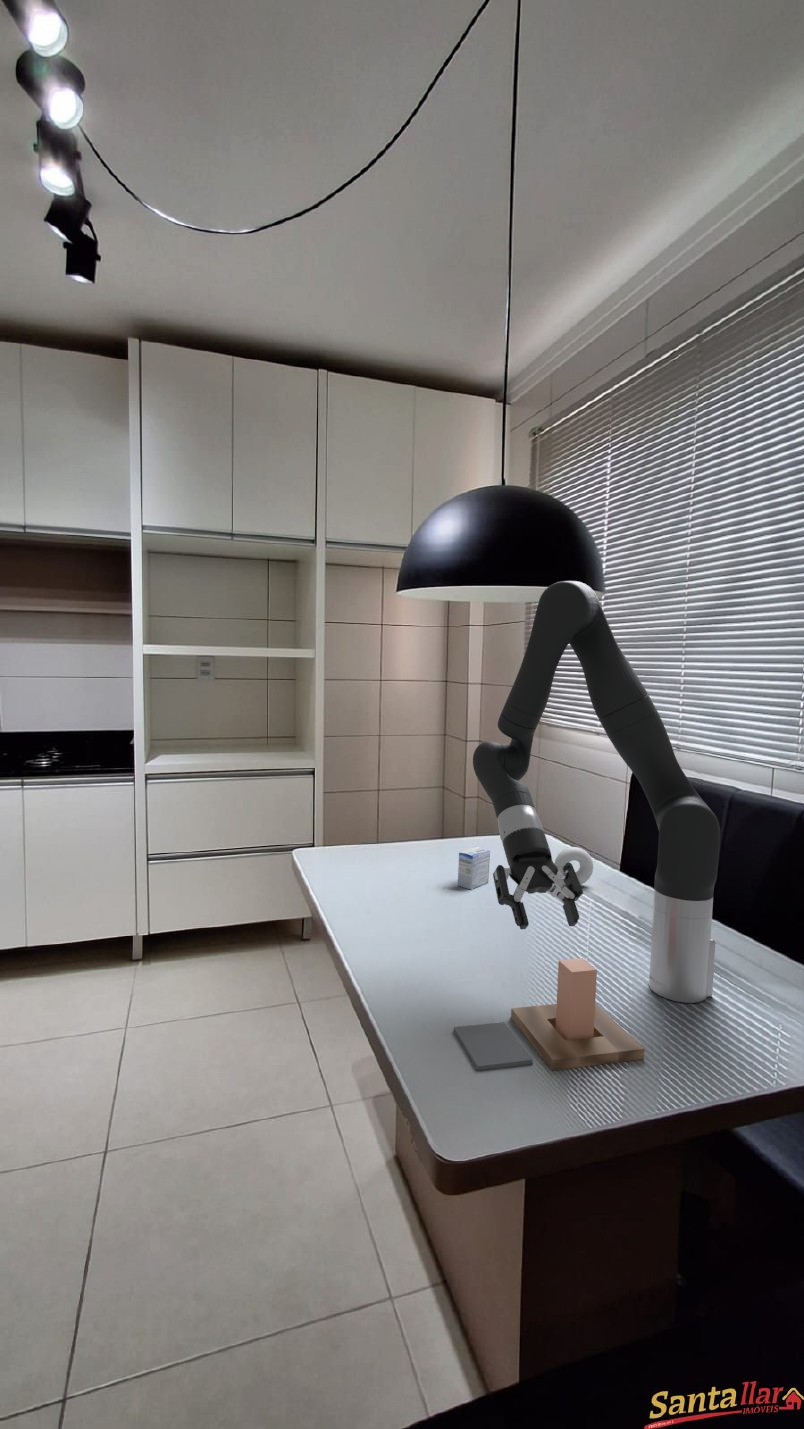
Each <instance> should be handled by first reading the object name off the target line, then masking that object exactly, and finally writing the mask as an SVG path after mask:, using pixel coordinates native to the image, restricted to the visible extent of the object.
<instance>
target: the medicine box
mask: <svg viewBox="0 0 804 1429" xmlns="http://www.w3.org/2000/svg"><path fill="white" fill-rule="evenodd" d="M490 860H491V850H489V849H487V848H483V847H478V846H475V847H471V848H469V849H465V850H462V851H459V853H458V868H457V869H458V870H457V872H458V873H457V874H458V875H457V886H458V887H460V886H461V888H465V889H468V890H474V889H476V888H479V887H481V886H483V885H485V884H488V883H489V881H490V880H489V879H490V862H491V861H490Z"/></svg>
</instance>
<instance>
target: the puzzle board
mask: <svg viewBox="0 0 804 1429" xmlns="http://www.w3.org/2000/svg"><path fill="white" fill-rule="evenodd" d="M556 1006H557V1003H551V1004H541V1005H534V1006H533V1005H532V1006H531V1005H530V1006H522V1007H513V1008H511V1009H510V1019H511V1020H512V1022H514V1024H515V1025H516V1026H517V1027H518V1029H519V1030H520V1031H521V1033H522V1034H523V1035H524V1036H525V1038H526V1039H527V1040H528V1042H529V1043H530V1044H531V1046H533V1047H534V1049H535V1051H536V1052H537V1053H538V1054H539V1055H540V1057H541V1058H542V1059H543V1061H544V1062H545V1063H546V1064H547V1065H548V1067H549V1068H550V1070H552V1072H553V1071H561V1070H567V1069H576V1068H584V1067H590V1066H593V1067H594V1066H600V1065H607V1064H616V1063H622V1062H630V1061H638V1060H639V1061H640V1060H644V1059H645V1047H644V1046H642V1044H641V1043H639V1042H638V1041H637V1040H636V1039H635V1038H634V1037H633V1036H632V1035H630V1034H629V1032H627V1031H626V1030H625V1029H624V1028H623V1027H622V1026H621V1025H620V1024H618V1023H617V1021H615V1020H614V1019H613V1017H611V1016H610V1015H609V1014H608V1013H607V1012H605V1010H604V1009H603V1008H602V1007H600V1006H599V1004H597V1003H596V1002H595V1018H594V1037H593V1038H584V1039H576V1040H567V1041H566V1040H565V1039H564V1038H563V1037H562V1036H561V1035H560V1034H559V1032H558V1031H557V1030H556V1029H555V1028H556Z"/></svg>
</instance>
